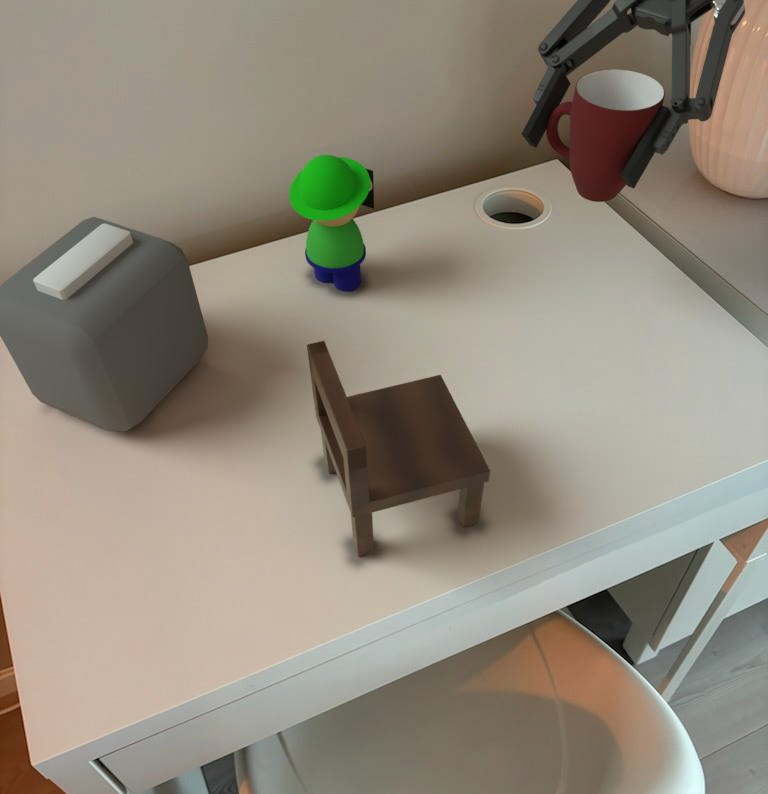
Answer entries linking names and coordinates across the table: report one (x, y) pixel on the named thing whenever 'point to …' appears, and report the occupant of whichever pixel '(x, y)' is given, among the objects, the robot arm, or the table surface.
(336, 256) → the toy
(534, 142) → the robot arm
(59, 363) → the alarm clock
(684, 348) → the table surface
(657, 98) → the mug
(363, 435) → the chair
